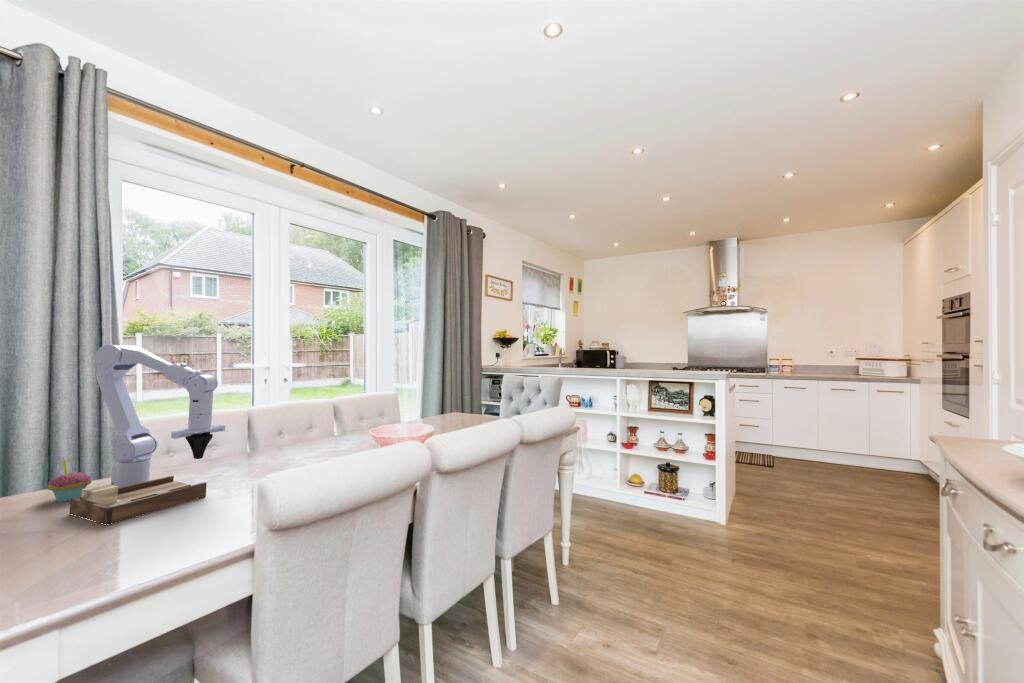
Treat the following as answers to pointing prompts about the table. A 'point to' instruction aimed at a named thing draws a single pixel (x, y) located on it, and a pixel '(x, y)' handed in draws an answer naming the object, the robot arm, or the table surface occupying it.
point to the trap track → (138, 500)
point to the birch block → (101, 494)
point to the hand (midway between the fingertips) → (198, 458)
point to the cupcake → (68, 484)
